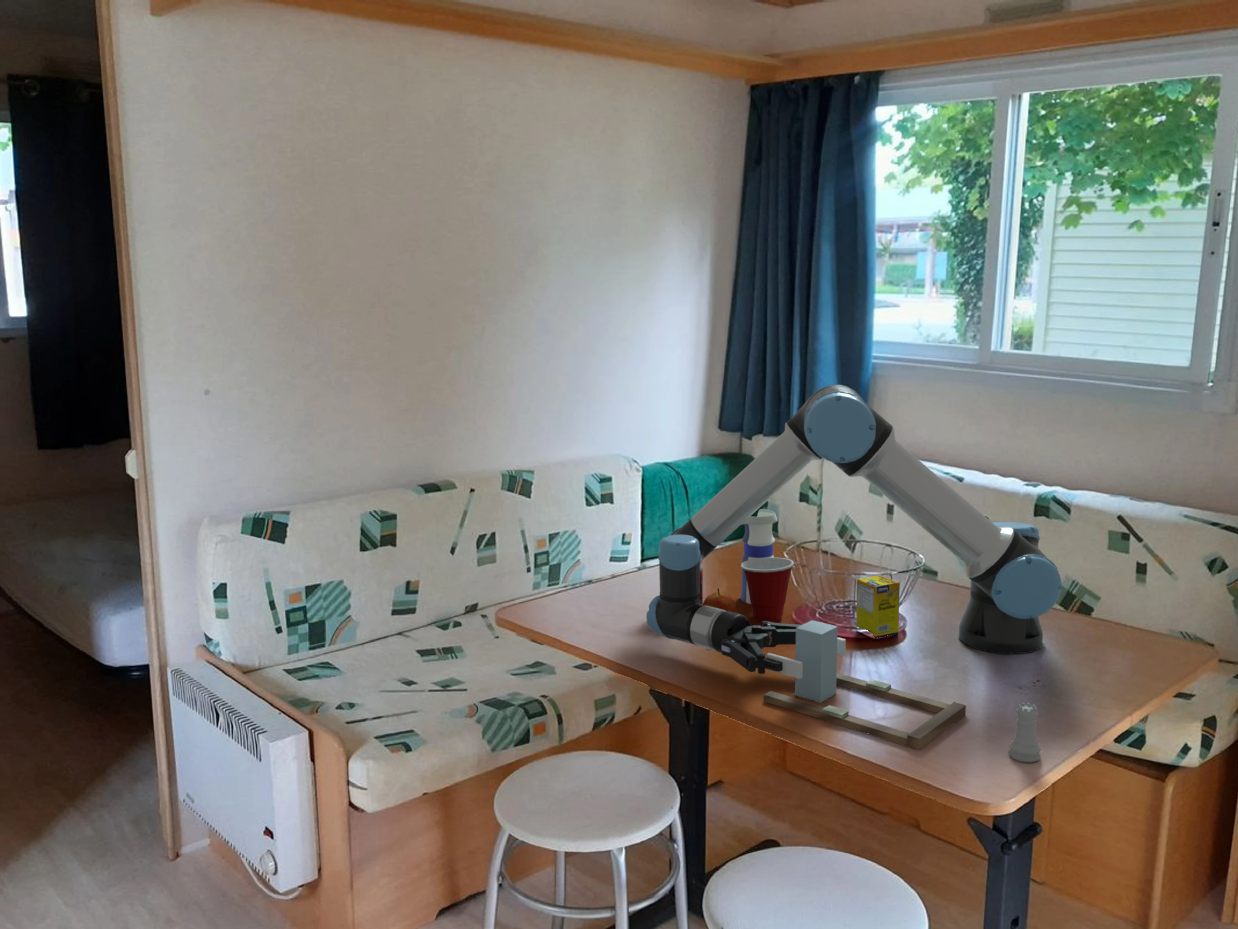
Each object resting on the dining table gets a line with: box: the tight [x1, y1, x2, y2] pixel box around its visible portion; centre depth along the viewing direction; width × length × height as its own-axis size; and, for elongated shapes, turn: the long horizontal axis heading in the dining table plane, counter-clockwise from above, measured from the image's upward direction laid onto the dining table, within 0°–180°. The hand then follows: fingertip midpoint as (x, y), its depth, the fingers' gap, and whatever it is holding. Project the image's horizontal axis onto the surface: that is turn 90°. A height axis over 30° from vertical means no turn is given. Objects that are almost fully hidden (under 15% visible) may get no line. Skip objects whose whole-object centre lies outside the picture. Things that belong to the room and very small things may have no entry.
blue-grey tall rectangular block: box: [794, 619, 839, 704], centre depth 180 cm, size 5×5×12 cm
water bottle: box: [739, 508, 779, 605], centre depth 230 cm, size 8×9×25 cm
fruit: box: [703, 588, 738, 613], centre depth 214 cm, size 7×7×8 cm
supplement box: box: [855, 574, 901, 639], centre depth 208 cm, size 6×6×11 cm
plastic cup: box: [740, 556, 795, 623], centre depth 219 cm, size 11×11×12 cm
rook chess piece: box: [1008, 702, 1042, 764], centre depth 157 cm, size 4×4×8 cm
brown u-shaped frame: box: [763, 672, 967, 751], centre depth 175 cm, size 28×16×2 cm, turn 48°
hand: (823, 658), depth 178 cm, fingers open, 13 cm apart
